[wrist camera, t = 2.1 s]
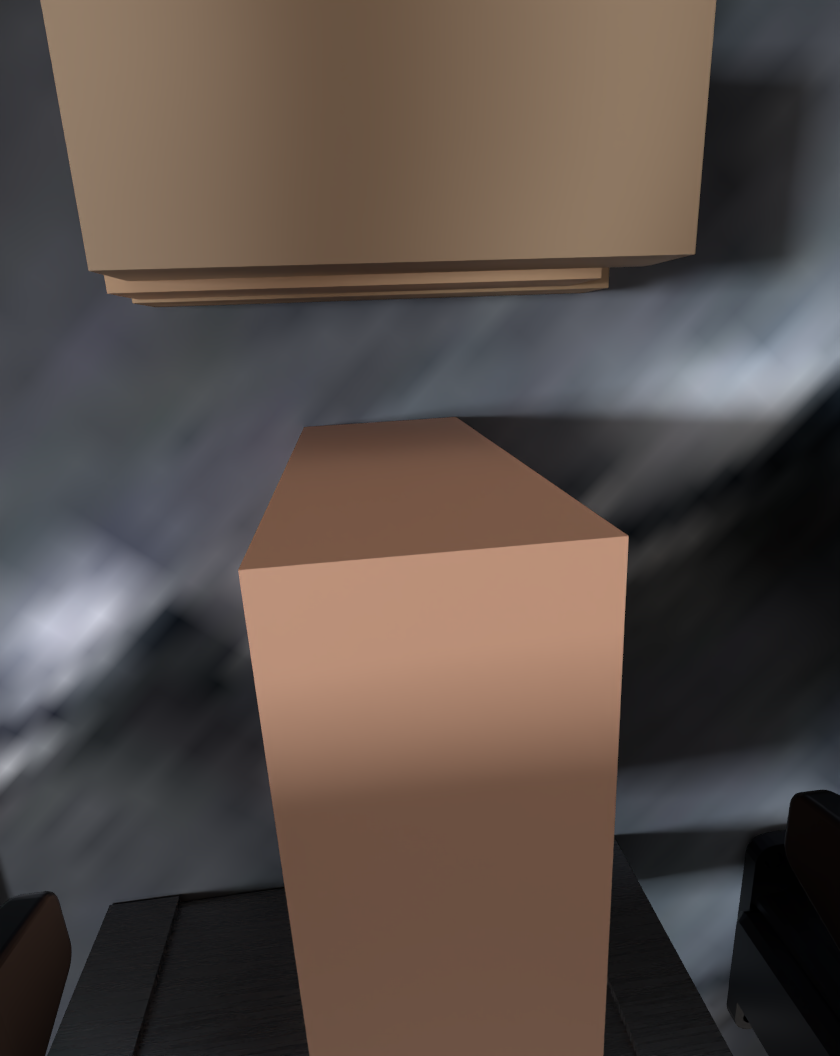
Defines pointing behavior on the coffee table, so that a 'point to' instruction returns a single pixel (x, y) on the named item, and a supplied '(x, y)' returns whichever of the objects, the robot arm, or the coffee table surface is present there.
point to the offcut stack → (380, 144)
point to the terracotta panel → (439, 740)
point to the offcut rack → (274, 994)
